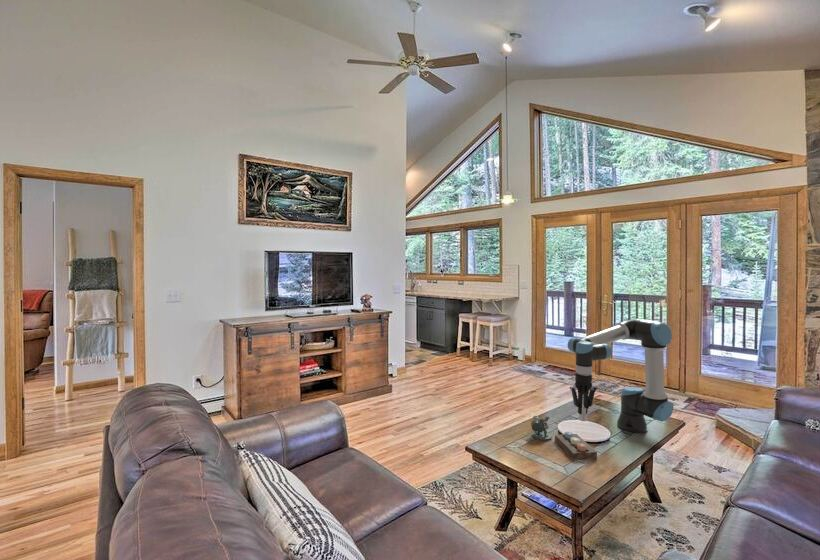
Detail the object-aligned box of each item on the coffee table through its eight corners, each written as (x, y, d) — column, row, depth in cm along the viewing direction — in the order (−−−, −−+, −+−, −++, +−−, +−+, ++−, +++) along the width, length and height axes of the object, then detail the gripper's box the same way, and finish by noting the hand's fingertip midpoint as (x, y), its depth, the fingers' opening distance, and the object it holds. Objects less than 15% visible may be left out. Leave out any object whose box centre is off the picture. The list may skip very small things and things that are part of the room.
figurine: (552, 441, 215) (553, 420, 214) (532, 440, 217) (532, 418, 217) (550, 433, 226) (550, 412, 225) (530, 431, 228) (530, 411, 227)
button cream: (576, 442, 209) (577, 437, 209) (581, 446, 204) (581, 441, 204) (568, 443, 208) (569, 437, 208) (573, 447, 204) (573, 441, 204)
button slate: (570, 437, 215) (570, 431, 215) (574, 440, 211) (575, 435, 211) (562, 437, 215) (563, 431, 215) (566, 441, 211) (567, 435, 210)
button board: (576, 440, 217) (576, 433, 217) (596, 459, 197) (597, 452, 197) (554, 441, 216) (555, 434, 216) (573, 460, 196) (573, 453, 196)
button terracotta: (583, 448, 202) (583, 443, 202) (588, 453, 198) (588, 447, 198) (575, 449, 202) (575, 443, 202) (579, 453, 198) (579, 447, 197)
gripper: (592, 370, 202) (591, 416, 203) (566, 371, 200) (565, 417, 202) (600, 375, 194) (599, 422, 196) (574, 376, 193) (573, 423, 195)
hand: (582, 420), depth 199 cm, fingers closed
